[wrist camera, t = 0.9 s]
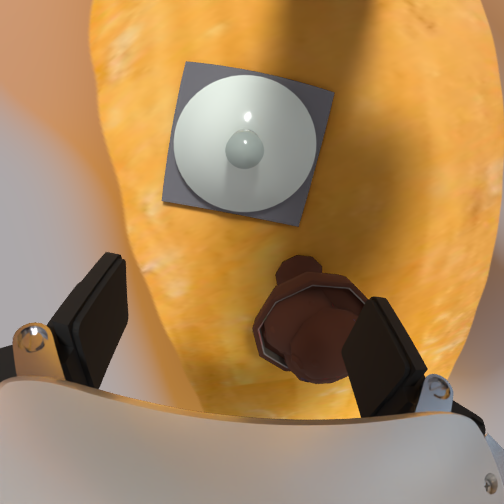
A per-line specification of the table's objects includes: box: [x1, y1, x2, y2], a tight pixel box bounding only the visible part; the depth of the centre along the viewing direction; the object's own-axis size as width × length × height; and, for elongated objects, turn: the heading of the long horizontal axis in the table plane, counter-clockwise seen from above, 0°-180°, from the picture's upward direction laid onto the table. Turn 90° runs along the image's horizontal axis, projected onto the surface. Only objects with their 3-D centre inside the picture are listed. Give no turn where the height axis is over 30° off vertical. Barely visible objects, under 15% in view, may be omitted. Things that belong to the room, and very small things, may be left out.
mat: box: [162, 62, 334, 227], centre depth 25 cm, size 14×14×1 cm
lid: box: [174, 75, 316, 212], centre depth 22 cm, size 13×13×6 cm
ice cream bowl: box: [253, 255, 368, 384], centre depth 26 cm, size 11×11×15 cm
